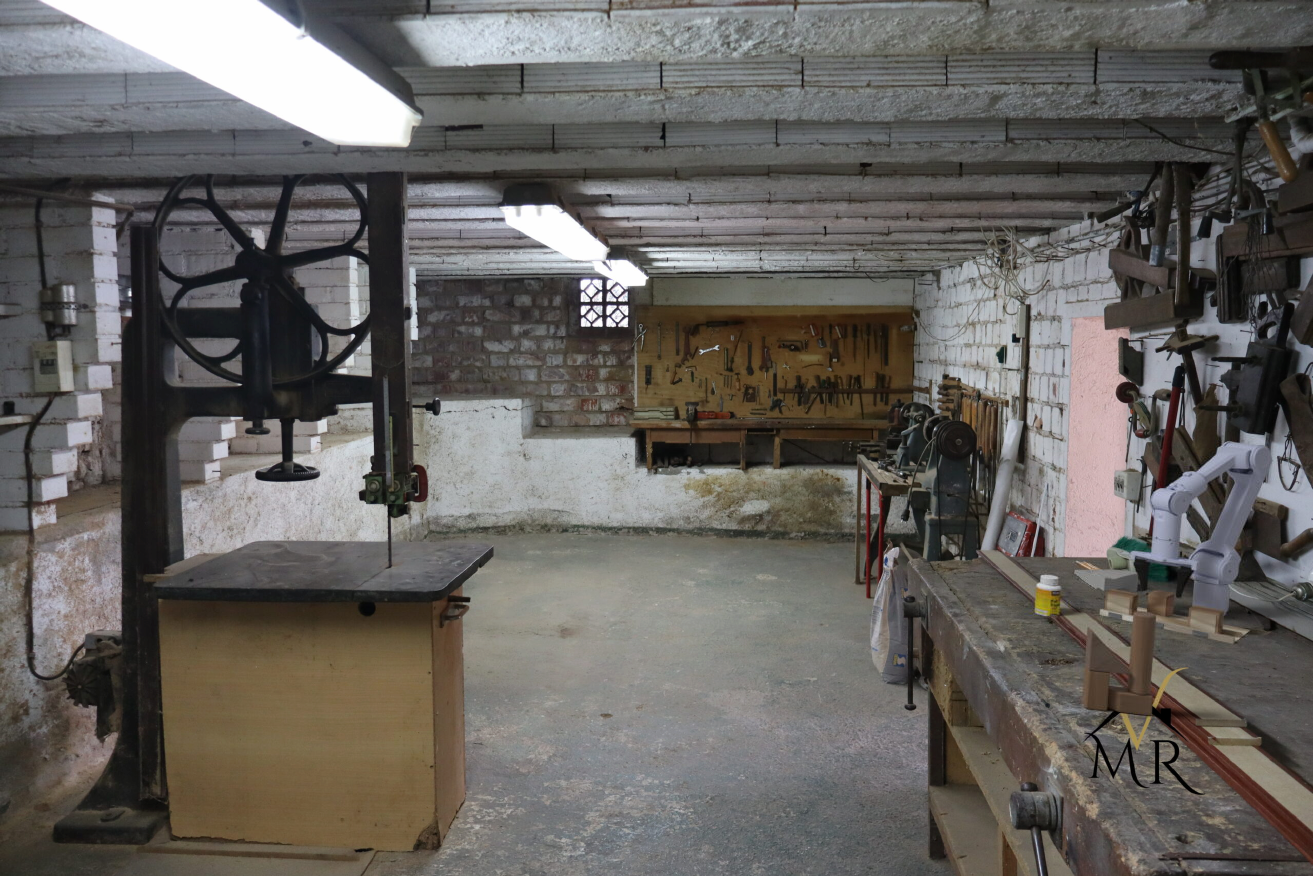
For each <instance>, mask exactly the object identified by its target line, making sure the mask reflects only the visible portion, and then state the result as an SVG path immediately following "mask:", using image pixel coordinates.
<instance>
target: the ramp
mask: <svg viewBox="0 0 1313 876" xmlns="http://www.w3.org/2000/svg"><path fill="white" fill-rule="evenodd" d="M1073 573H1074V574H1076V575H1077V576H1079V577H1080V578H1081V579H1082V580H1084V581H1085V582H1086V583H1088V584H1089V585H1091V586H1092V587H1094V588H1095V589H1094V590H1096V589H1100V590H1102V591H1103V592H1106V591H1109V590H1111V589H1115V590H1123V591H1125V590H1126V591H1128V592H1129V591H1130V592H1134V591H1135V592H1138V584H1139V583H1138V582H1139V577H1138V574H1137V571H1131V570H1122V569H1109V568H1108V569H1092V568H1090V569H1074V572H1073ZM1086 583H1085V584H1086ZM1089 585H1088V586H1089ZM1092 587H1091V588H1092Z"/></svg>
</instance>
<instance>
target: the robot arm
mask: <svg viewBox="0 0 1313 876" xmlns="http://www.w3.org/2000/svg"><path fill="white" fill-rule="evenodd" d="M1272 463H1273V457H1272V454H1271V451H1270V449H1269V447H1268V446H1267V445H1264V444H1253V443H1252V444H1250V443H1242V442H1235V441H1230V440H1228V441H1226V442H1223V444H1222V445H1221V446H1218V447H1217V449H1216V453H1215V455H1214V456H1212V458H1210V459H1209V460H1208V461H1207V462H1206V463H1204V465H1203V466H1201V467H1200V468H1199V469H1198V470H1197V471H1192V470H1191V471H1184V473H1182V476H1180V477H1178V478H1177V479H1176V480H1174V481H1173V482H1171V483H1170V484H1169V485H1168V486H1166V487H1164V488H1161V487H1160V488H1158V489H1156V490H1155V491H1153V493H1152V495H1151V497H1150V498H1149V506H1150V508H1151V511H1152V512H1151V516H1152V518H1153V525H1152V538H1151V539H1152V540H1151V552H1148V551H1146V552H1145V551H1137V550H1132V551H1130V555H1129V557H1130V558H1129V559H1130V560H1133V562H1132V563H1133V567H1134V569H1135V572H1136V573H1137V574H1138V581H1139V583H1140V591H1141V592H1145V591H1147V590H1148V582H1149V571H1150V567H1151V563H1153V564H1159V565H1165V566H1171V567H1177V568H1178V569H1176V575H1177V576H1176V579H1177V580H1176V581H1177V582H1176V591H1175V598H1176V599H1180V598H1182V596H1183V592H1184V590H1185V588H1186V585H1187V584H1188V581H1189V579H1190V578H1192V579H1194V583H1193V593H1192V604H1191V607H1192V606H1194V605H1197V606H1202V607H1207V608H1212V609H1218V610H1223V611H1224V616H1226V615H1227V612H1228V611H1229V609H1230V608H1229V607H1230V606H1229V605H1230V596H1231V595H1230V594H1231V590H1230V585H1232V583H1233V582H1234V581H1235V580H1236V579H1237V577H1238V574H1239V567H1240V563H1241V560H1242V558H1241V556H1240V554H1239V553H1238V551H1237V550H1236V549H1235V546H1236V545H1237V543H1238V540H1239V538H1240V536H1241V534H1242V531H1243V528H1244V526H1245V525H1246V522H1247V520H1248V518H1249V515H1250V512H1251V510H1252V508H1253V506H1254V503H1255V501H1256V499H1257V497H1258V495H1259V493H1260V490H1261V488H1262V486H1263V482H1264V481H1265V479H1266V477H1267V475H1268V472H1269V470H1270V468H1271V466H1272ZM1225 472H1226V473H1227V474H1228V476H1229V477H1231V478H1232V479H1233V481H1234V485H1233V487H1232V489H1231V491H1230V493H1229V496H1228V498H1227V500H1226V502H1225V503H1224V504H1225V505H1224V507H1223V509H1222V511H1221V513H1220V516H1219V518H1218V520H1217V523H1216V525H1215V527H1214V529H1213V531H1212V534H1211V535H1210V539H1208V540H1206V541H1203V542H1201V543H1198V545H1197V546H1196V548H1195V550H1194V551H1193V552H1192V553H1191V554H1190V555H1189V557H1188V558H1185V557H1181V556H1179V551H1180V550H1179V549H1180V539H1181V528H1182V527H1181V526H1182V515H1183V514H1185V513H1187V511H1188V509H1189V506H1190V505H1191V503H1192V502H1193V500H1195V499H1196V498H1197V497H1198V496H1200V495H1202V494H1203V493H1204V492H1205V491H1206V490H1207V489H1208V483H1209V482H1211V481H1213V480H1214V479H1216V478H1217V477H1219V476H1221V475H1222V474H1224V473H1225Z"/></svg>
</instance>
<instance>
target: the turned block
mask: <svg viewBox="0 0 1313 876" xmlns="http://www.w3.org/2000/svg"><path fill="white" fill-rule="evenodd" d="M1174 603H1175V592H1170V591H1167V590H1160V589H1155V590H1153V591H1151V592H1148V595H1147V605H1146V609H1147V612H1150V613H1153V614H1155V615H1159V616H1164V617H1170V616H1172V615H1173V614H1174Z"/></svg>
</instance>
